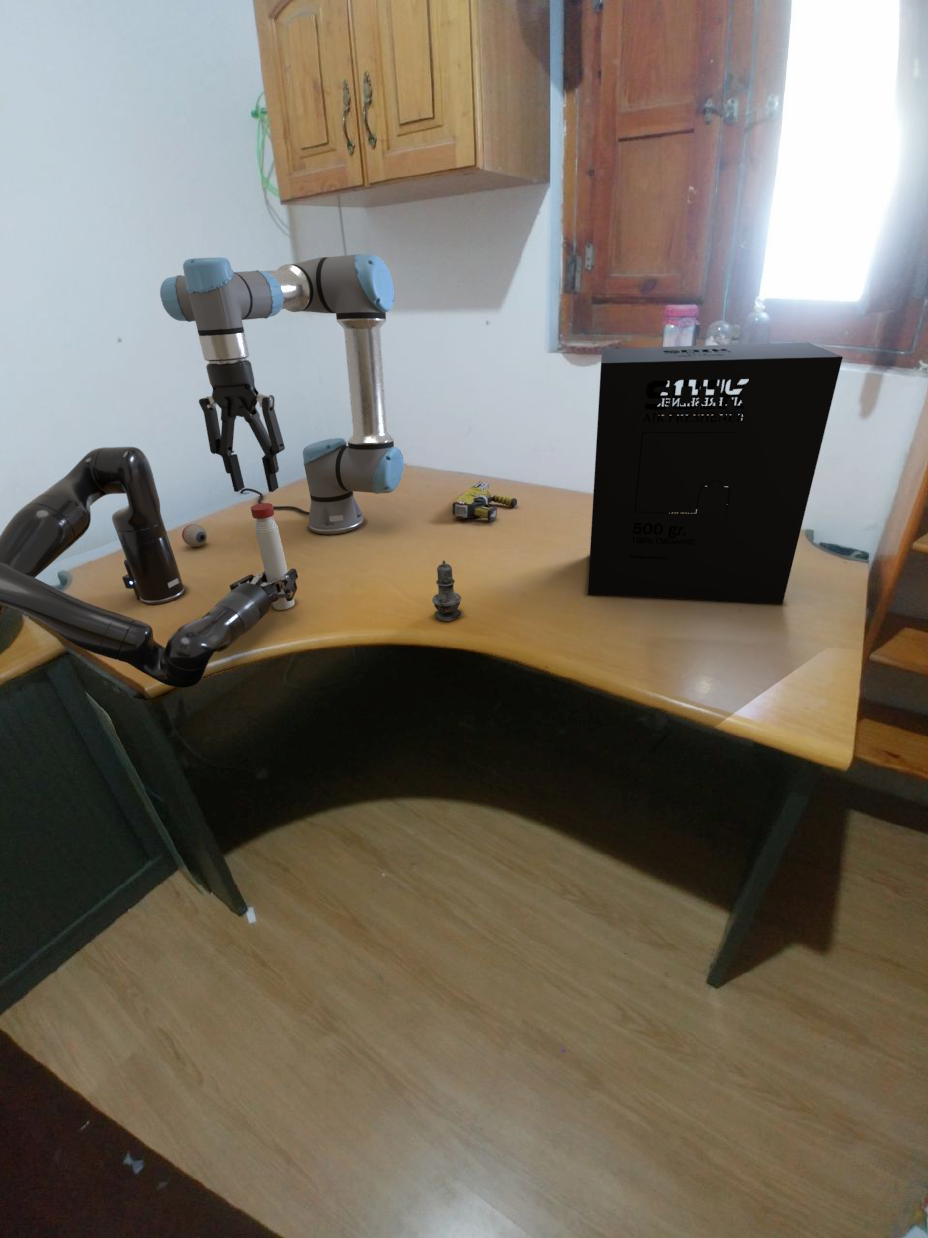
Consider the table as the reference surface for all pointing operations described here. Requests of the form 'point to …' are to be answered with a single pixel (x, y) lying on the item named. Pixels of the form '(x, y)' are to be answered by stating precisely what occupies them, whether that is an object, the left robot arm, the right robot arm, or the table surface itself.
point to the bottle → (272, 555)
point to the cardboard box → (705, 469)
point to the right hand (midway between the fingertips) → (256, 489)
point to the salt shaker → (446, 595)
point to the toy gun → (479, 503)
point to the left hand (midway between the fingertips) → (284, 571)
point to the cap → (262, 510)
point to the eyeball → (194, 535)
